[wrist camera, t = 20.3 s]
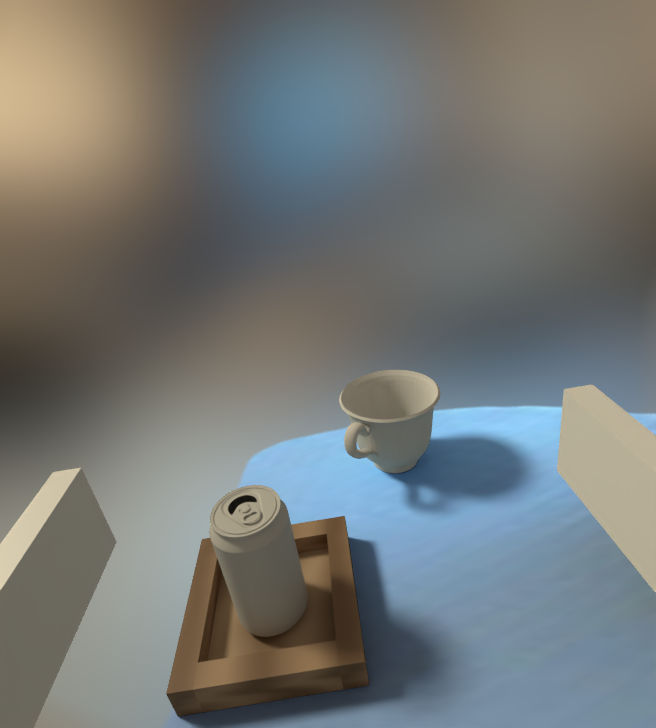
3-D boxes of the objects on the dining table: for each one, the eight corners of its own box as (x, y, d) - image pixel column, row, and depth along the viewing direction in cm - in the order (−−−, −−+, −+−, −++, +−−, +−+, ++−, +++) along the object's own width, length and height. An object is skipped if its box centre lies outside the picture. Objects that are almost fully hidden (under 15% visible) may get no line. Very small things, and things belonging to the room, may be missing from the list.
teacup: (317, 486, 57) (303, 418, 53) (380, 424, 67) (373, 362, 63) (402, 521, 50) (395, 446, 46) (459, 446, 60) (457, 379, 56)
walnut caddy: (348, 537, 49) (344, 516, 48) (369, 685, 36) (364, 661, 34) (209, 559, 49) (202, 539, 48) (177, 716, 36) (166, 693, 34)
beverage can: (289, 566, 46) (264, 470, 41) (322, 613, 41) (299, 511, 35) (229, 602, 43) (194, 504, 38) (257, 658, 38) (220, 554, 33)
